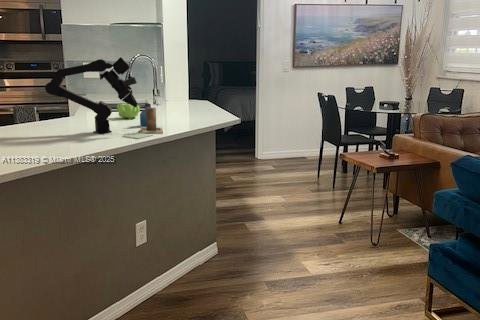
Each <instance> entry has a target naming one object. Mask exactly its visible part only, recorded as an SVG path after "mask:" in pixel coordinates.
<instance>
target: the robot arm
mask: <svg viewBox="0 0 480 320" xmlns="http://www.w3.org/2000/svg"><path fill="white" fill-rule="evenodd" d="M131 68H132V67H131V66H130V64H129V63H128V62H127V61H125V59H124V58H123V57H119V58H118V59H117V60H116V61H114V63H112V62H110V63H109V62H107V61H106V60H105V59H103V58H100V59H96V60H93V61H92V62H89V63H86V64H81V65H80V64H79V65H76V66H75V65H74V66H71V67H64V68H59V69H57V70H56V73H55V74H54V76H53V77H52V78H51V80H50V81H49V82H48V83H46V84H45V87H44V89H45V92H46V93H47V94H49V95H52V96H55V97H59V98H60V97H61V98H64V99H67V100H69V101H71V102H73V103H76V104H79V105H80V106H82V107H85V108H87V109H90V110H91V111H92V112H94V113H95V114H96V115H95V116H94V126H95V130H94V131H93V133H95V134H101V135H102V134H108V133H111V132H112V130H111V128H110V120H108V118H109V117H110V116H111V115H112V112H113V108H112V107H111V106H110V105H109V103H106V102H105V101H102V100H100V101H98V102H95V101H94V100H91V99H88V98H86V97H84V96H82V95H80V94H78V93H75V92H74V91H71V90H69V89H67V88H66V87H65V86H63V85H62V83H63V81H64V79H65V78H66V77H67V76H74V75H78V74H84V73H99V80H103V79H105V80H106V81H107V83H108V84H109V85H110V86H111V88H112V89H113V90H114V91H115V92H116V93H117V94H118V95H117V97H118V98H119V100H120V101H122V102H124V103H125V104H126V103H128V104H130V105H132V106H134V107H137V105H138V102H137V100H136V98H135V97H134V95H133V88H132V87H131V86H132V85H136V84H138V82H137V79H136V77H135V76H132V75H129V76H127V79H123V78H120V76H119V75H124V74H125V73H126V72H128V71H129V70H130V69H131ZM101 72H102V73H101Z"/></svg>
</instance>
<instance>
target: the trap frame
mask: <svg viewBox="0 0 480 320" xmlns="http://www.w3.org/2000/svg"><path fill="white" fill-rule="evenodd" d="M139 130H140V131H139V133H142V134H149V135H153V134H164V132H163V127H161V126H160V127H159V126H158V127H157V126H156V131H146V127H140V129H139Z"/></svg>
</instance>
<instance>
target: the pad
mask: <svg viewBox="0 0 480 320" xmlns="http://www.w3.org/2000/svg"><path fill="white" fill-rule="evenodd" d="M122 137H123V138H127V139H129V138H131V139H136V140H140V139H145V138H149V137H153V134H142V133H140V132H135V133H129V134H126V135H125V134H124V135H122Z"/></svg>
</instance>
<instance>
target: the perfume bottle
mask: <svg viewBox="0 0 480 320" xmlns="http://www.w3.org/2000/svg"><path fill="white" fill-rule="evenodd" d="M146 108H152V105H151V103H147V102H146V103H144V109H142V111H140V112H139V113H140V114H139V123H140V125H139V126H141V127H144V128H146Z"/></svg>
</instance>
